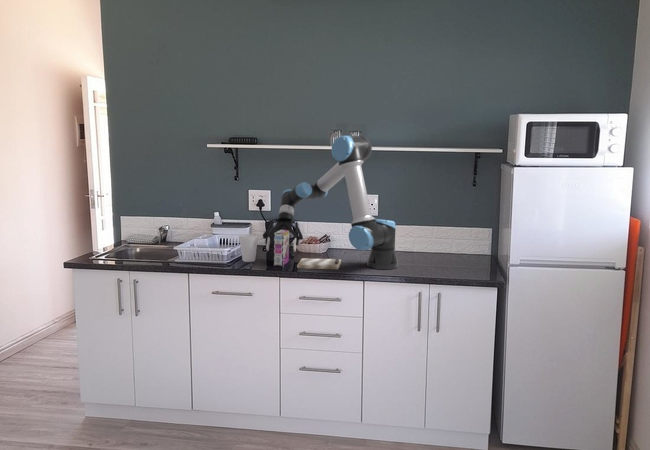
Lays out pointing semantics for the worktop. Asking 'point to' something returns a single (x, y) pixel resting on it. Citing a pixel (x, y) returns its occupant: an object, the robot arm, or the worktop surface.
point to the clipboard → (319, 263)
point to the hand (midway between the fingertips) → (280, 250)
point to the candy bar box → (281, 247)
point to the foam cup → (248, 246)
